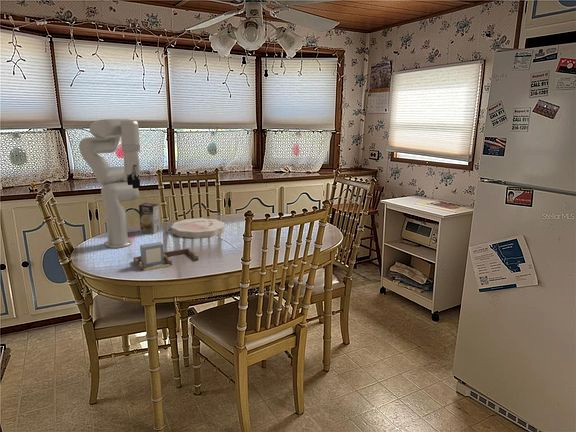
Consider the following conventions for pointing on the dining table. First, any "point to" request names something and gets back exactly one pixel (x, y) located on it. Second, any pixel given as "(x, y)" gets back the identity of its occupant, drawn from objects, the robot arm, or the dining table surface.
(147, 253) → the pale gray rectangular prism
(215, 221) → the decorative plaque
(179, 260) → the dining table surface
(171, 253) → the frame
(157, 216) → the coffee box
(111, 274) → the dining table surface
